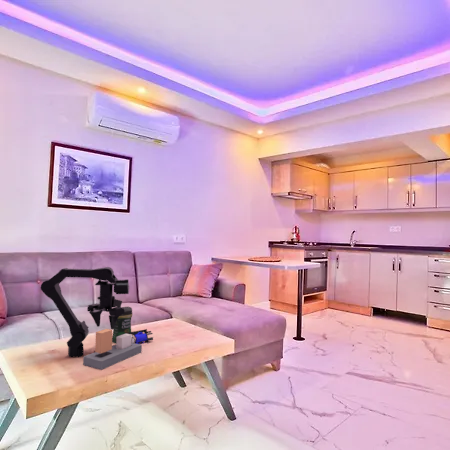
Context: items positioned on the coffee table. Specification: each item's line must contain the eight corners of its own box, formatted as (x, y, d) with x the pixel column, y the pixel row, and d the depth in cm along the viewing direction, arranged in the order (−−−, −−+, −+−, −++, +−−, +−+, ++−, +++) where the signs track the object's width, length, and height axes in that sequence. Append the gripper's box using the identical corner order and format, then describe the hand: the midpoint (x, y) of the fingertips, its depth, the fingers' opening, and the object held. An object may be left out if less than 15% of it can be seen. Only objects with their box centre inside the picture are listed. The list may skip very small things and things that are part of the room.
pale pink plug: (116, 355, 155) (116, 336, 155) (125, 351, 160) (125, 333, 160) (121, 356, 153) (122, 337, 153) (131, 352, 158) (131, 334, 159)
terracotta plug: (95, 352, 144) (95, 332, 145) (106, 348, 150) (106, 328, 150) (101, 353, 143) (101, 333, 143) (111, 349, 148) (112, 329, 148)
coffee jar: (117, 346, 170) (118, 309, 170) (109, 343, 175) (110, 307, 176) (134, 342, 177) (135, 307, 177) (126, 339, 182) (127, 304, 183)
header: (83, 367, 143) (83, 356, 143) (124, 350, 164) (124, 341, 165) (101, 372, 138) (101, 361, 138) (141, 354, 159) (141, 344, 159)
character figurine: (155, 344, 175) (127, 350, 166) (149, 339, 181) (121, 345, 172) (155, 329, 175) (127, 334, 166) (150, 325, 181) (122, 330, 172)
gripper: (133, 293, 160) (132, 326, 160) (105, 290, 169) (104, 321, 169) (115, 297, 151) (114, 332, 150) (86, 293, 159) (86, 326, 159)
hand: (105, 327), depth 157 cm, fingers open, 9 cm apart
